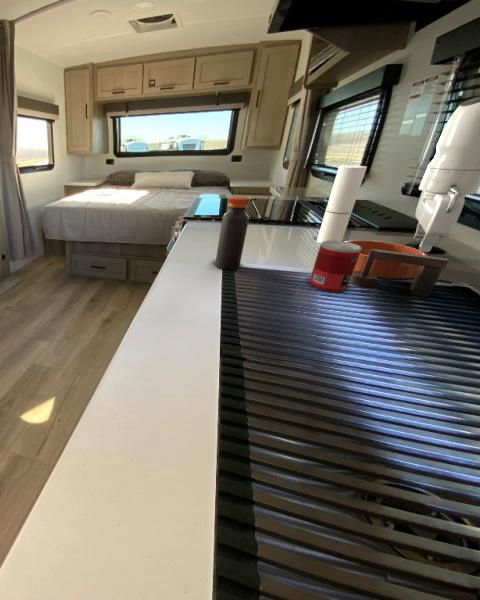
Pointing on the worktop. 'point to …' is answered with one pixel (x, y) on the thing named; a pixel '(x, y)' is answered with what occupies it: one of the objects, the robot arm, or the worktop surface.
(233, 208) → the bottle
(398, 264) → the bowl
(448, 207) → the robot arm
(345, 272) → the canned food
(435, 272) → the dark brown upright post
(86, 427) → the worktop surface
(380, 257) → the brown bent bar
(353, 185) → the cylindrical container
